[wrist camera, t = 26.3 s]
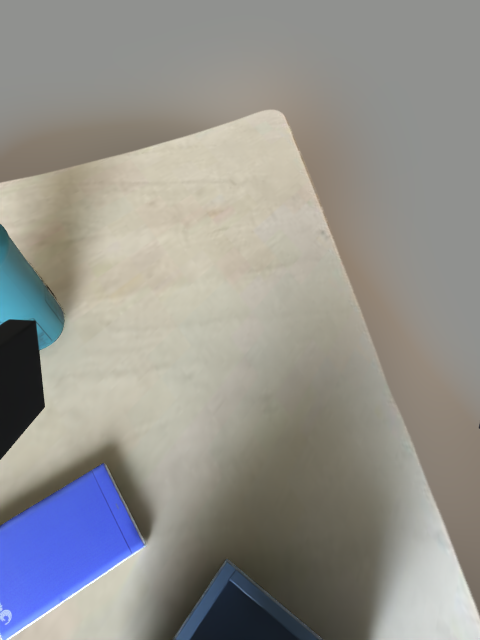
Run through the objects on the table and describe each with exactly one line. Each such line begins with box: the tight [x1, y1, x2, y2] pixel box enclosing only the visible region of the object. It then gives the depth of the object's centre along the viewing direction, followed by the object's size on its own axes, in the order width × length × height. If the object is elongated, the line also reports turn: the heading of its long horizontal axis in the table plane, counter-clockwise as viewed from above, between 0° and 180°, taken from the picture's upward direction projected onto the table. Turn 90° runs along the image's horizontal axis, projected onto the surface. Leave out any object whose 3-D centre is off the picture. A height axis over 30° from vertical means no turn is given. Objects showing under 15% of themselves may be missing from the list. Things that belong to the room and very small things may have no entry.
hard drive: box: [0, 463, 146, 640], centre depth 39 cm, size 2×8×12 cm
